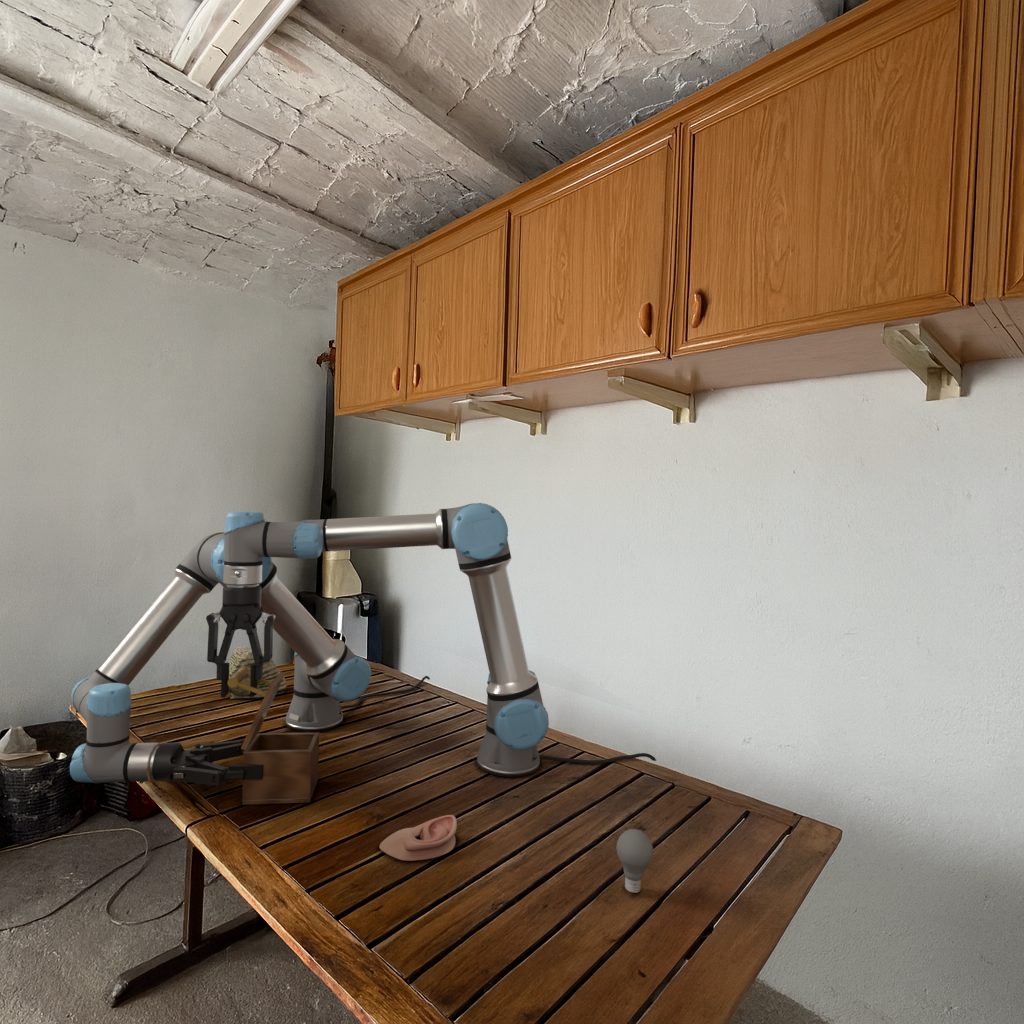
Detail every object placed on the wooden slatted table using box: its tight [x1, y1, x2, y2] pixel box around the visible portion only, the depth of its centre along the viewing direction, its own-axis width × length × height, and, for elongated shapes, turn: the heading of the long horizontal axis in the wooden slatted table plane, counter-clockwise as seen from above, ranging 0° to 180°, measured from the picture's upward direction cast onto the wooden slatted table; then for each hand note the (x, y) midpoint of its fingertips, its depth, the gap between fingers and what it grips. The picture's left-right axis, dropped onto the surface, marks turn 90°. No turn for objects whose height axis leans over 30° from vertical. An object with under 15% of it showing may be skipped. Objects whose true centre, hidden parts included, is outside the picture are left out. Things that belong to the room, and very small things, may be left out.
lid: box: [228, 668, 286, 750], centre depth 133 cm, size 14×10×9 cm
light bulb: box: [615, 828, 654, 894], centre depth 106 cm, size 6×6×10 cm
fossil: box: [226, 646, 288, 699], centre depth 198 cm, size 9×18×15 cm, turn 132°
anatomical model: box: [379, 814, 458, 862], centre depth 117 cm, size 13×4×12 cm
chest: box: [241, 731, 320, 806], centre depth 135 cm, size 13×10×11 cm
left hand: (269, 760), depth 134 cm, fingers closed on chest, 10 cm apart
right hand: (239, 694), depth 133 cm, fingers open, 5 cm apart
